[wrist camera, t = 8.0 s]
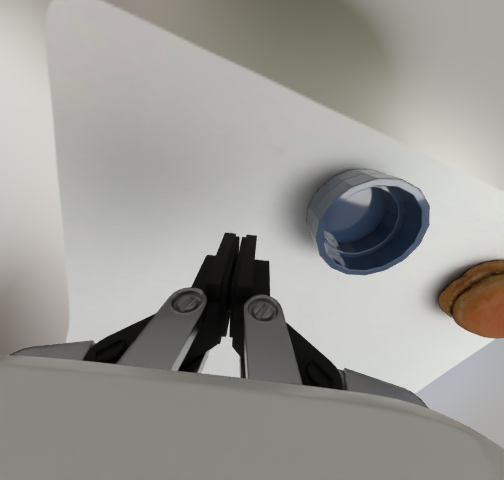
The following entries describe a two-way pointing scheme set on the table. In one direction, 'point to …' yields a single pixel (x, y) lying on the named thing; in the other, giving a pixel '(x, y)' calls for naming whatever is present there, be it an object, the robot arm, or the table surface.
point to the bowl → (367, 221)
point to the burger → (477, 300)
